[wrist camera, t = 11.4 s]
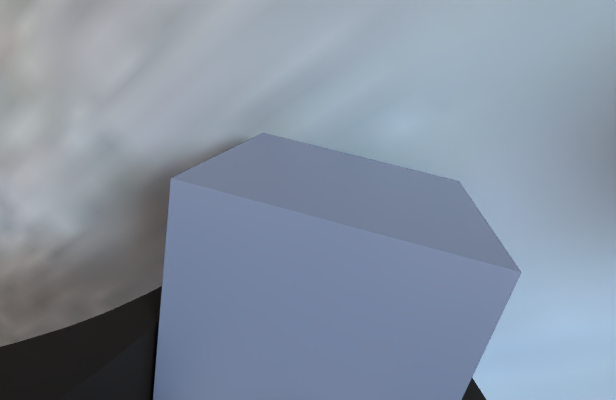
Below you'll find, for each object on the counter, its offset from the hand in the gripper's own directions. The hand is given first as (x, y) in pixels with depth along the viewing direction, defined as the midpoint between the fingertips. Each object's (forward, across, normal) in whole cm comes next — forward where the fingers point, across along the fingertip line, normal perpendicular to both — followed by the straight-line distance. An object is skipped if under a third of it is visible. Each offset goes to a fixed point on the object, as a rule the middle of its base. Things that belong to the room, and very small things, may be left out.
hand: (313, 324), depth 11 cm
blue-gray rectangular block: (+2, 0, 0) cm, 2 cm away
